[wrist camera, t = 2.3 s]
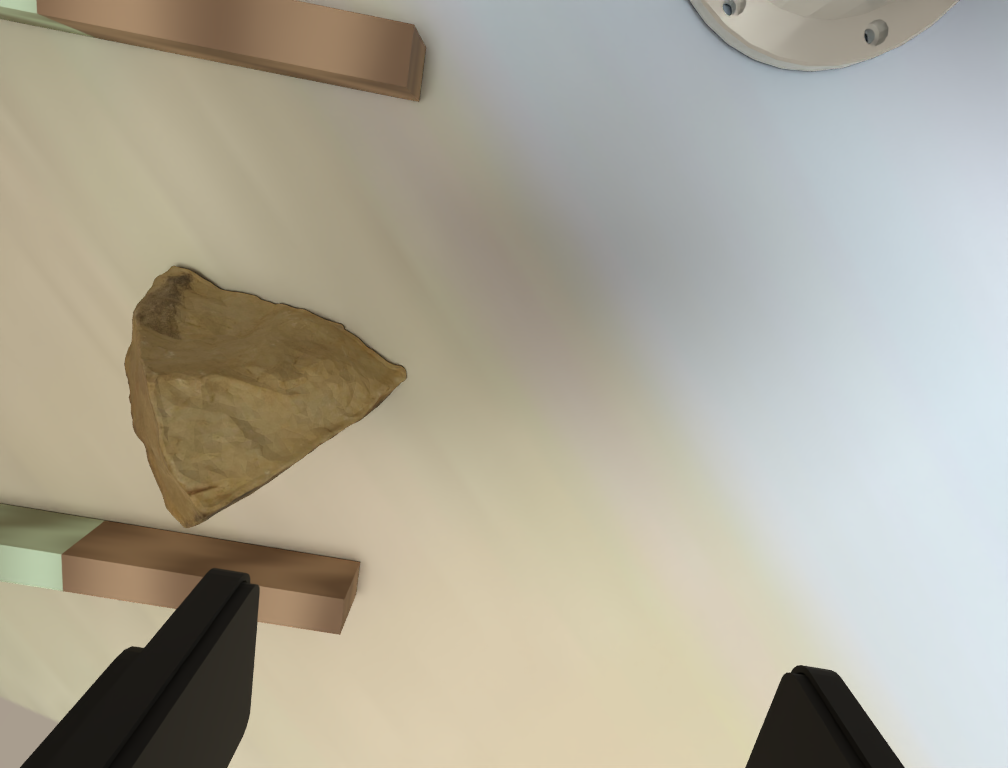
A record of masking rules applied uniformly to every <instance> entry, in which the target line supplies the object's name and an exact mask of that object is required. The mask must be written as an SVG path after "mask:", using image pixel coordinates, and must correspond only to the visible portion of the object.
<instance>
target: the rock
mask: <svg viewBox="0 0 1008 768" xmlns="http://www.w3.org/2000/svg"><path fill="white" fill-rule="evenodd" d="M132 324H133V331H132V342H131V345H130V347H129V348H128V351H127V354H126V357H125V363H124V364H125V370H126V376H127V378H128V384H129V388H130V395H129V400H130V403H131V415H132V419H133V428H134V432H135V433H136V435H137V436H138V438H139V439H140V440H141V441H142V442H143V443H144V445H145V448H146V452H147V458H148V462H149V464H150V467H151V469H152V472H153V474H154V477H155V479H156V481H157V484H158V486H159V488H160V490H161V493H162V495H163V499H164V502H165V505H166V508H167V509H168V511H169V512H170V513H171V514H172V515H173V516H174V517H175V518H176V519H177V520H178V521H179V522H180V524H181V525H182V526H183V527H185V528H190V527H193V526H196V525H198V524H200V523H202V522H204V521H206V520H208V519H209V518H210V517H212V516H213V515H215V514H216V513H218V512H220V511H222V510H223V509H225V508H227V507H229V506H231V505H232V504H234V503H236V502H238V501H239V500H241V499H243V498H245V497H247V496H249V495H251V494H252V493H254V492H255V491H256V490H258V489H259V488H261V487H262V486H263V485H265V484H267V483H269V482H270V481H271V480H273V479H274V478H275V477H277V476H278V475H279V474H281V473H282V472H284V471H285V470H287V469H288V468H290V467H291V466H292V465H293V464H295V463H296V462H298V461H299V460H301V459H302V458H304V457H305V456H306V455H307V454H309V453H310V452H312V451H313V450H314V449H316V448H317V447H318V446H319V445H321V444H322V443H324V442H326V441H327V440H329V439H331V438H333V437H334V436H335V435H337V434H338V433H339V432H341V431H342V430H344V429H345V428H347V427H348V426H350V425H351V424H354V423H356V422H358V421H360V420H361V419H363V418H364V417H365V416H366V415H368V414H369V413H370V412H371V411H373V410H374V409H375V408H376V407H378V406H379V405H380V404H381V403H382V402H383V401H384V400H385V399H386V398H387V397H388V396H389V395H390V393H391V392H392V391H393V390H394V389H395V388H396V387H397V386H398V385H399V384H400V383H401V382H403V381H404V380H405V379H406V370H405V369H404V368H403V367H402V366H399V365H394V364H391V363H389V362H387V361H386V360H385V359H383V358H382V357H381V356H380V355H378V354H377V353H376V352H374V351H373V350H372V349H370V348H368V347H367V346H365V345H364V343H363V342H362V341H361V340H360V339H359V338H358V337H356V336H354V335H353V334H351V333H349V332H348V331H346V330H345V329H344V327H343V325H342V324H339V323H335V322H331V321H329V320H325V319H323V318H321V317H318V316H317V315H315V314H312V313H311V312H309V311H307V310H304V309H296V308H293V307H290V306H288V305H284V304H276V305H275V304H273V303H270V302H268V301H264V300H261V299H259V298H258V297H257V296H254V295H250V294H246V293H240V292H231V291H225V290H221V289H219V288H218V287H216V286H215V285H213V284H212V283H211V282H209V281H207V280H205V279H203V278H201V277H200V276H199V275H197V274H196V273H195V272H193V271H190V270H189V269H185V268H180V267H176V266H172V267H171V268H170V269H169V270H168V271H167V272H165V273H164V274H162V275H159V276H158V277H157V278H156V279H155V280H154V282H153V285H152V287H151V288H150V290H149V291H148V292H147V294H146V295H145V297H144V298H143V299H142V300H141V301H140V302H139V303H138V304H137V306H136V308H135V310H134V312H133V319H132Z"/></svg>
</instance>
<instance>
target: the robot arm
mask: <svg viewBox="0 0 1008 768" xmlns="http://www.w3.org/2000/svg"><path fill="white" fill-rule="evenodd" d="M958 1H960V0H690V2H691V3H692V4H693V6H694V7H695V9H696V10H697V12H698V13H699V15H700V16H701V17H702V19H703V20H704V22H705V23H706V24H707V25H708V26H709V27H710V28H711V29H712V30H713V31H714V32H715V33H717V34H718V35H719V36H720V37H721V38H722V39H723V40H724V41H725V42H726V43H727V44H728V45H730V46H732V47H733V48H735V49H737V50H738V51H740V52H742V53H743V54H745V55H747V56H748V57H750V58H752V59H754V60H757V61H760V62H763V63H766V64H769V65H772V66H775V67H778V68H781V69H790V70H801V71H811V72H812V71H821V70H829V69H838V68H844V67H847V66H850V65H853V64H856V63H859V62H863V61H866V60H869V59H872V58H875V57H877V56H879V55H881V54H883V53H885V52H888V51H890V50H892V49H894V48H896V47H899V46H901V45H903V44H904V43H906V42H908V41H909V40H911V39H912V38H914V37H915V36H917V35H918V34H920V33H921V32H923V31H924V30H926V29H927V28H929V27H931V26H932V25H933V24H934V23H935V22H936V21H938V20H939V19H940V18H941V17H942V16H943V15H944V14H945V13H946V12H947V11H949V10H950V9H951V8H952V7H953V6H954V5H955V4H956V3H957V2H958ZM723 4H728V5H730V6H731V8H732V13H731V15H730V16H729V15H727V14H725V12H724V10H723V8H722V5H723ZM864 34H867V36H868V42H866V40H865V38H864ZM259 595H260V587H259V585H257V584H252V583H250V575H249V574H248V573H243V572H237V571H231V570H225V569H219V568H212V569H210V570H209V571H208V572H207V573H206V574H205V576H204V577H203V578H202V579H201V580H200V582H199V583H198V584H197V585H196V586H195V588H194V589H193V590H192V591H191V592H190V594H189V595H188V596H187V597H186V598H185V600H184V601H183V602H182V603H181V604H180V606H179V607H178V608H177V609H176V610H175V612H174V613H173V614H172V615H171V616H170V618H169V619H168V620H167V621H166V622H165V624H164V625H163V626H162V627H161V628H160V630H159V631H158V632H157V633H156V634H155V636H154V637H153V638H152V639H151V641H150V642H149V643H148V644H147V645H146V647H145V648H140V647H133V646H132V647H130V648H128V649H126V650H124V651H123V652H122V653H121V654H120V655H119V656H118V657H117V658H116V659H115V660H114V661H113V662H112V663H111V664H110V665H109V667H108V668H107V669H106V670H105V671H104V672H103V673H102V675H101V676H100V677H99V678H98V679H97V680H96V681H95V683H94V684H93V685H92V686H91V687H90V688H89V689H88V691H87V692H86V693H85V694H84V695H83V696H82V697H81V699H80V700H79V701H78V702H77V703H76V704H75V705H74V707H73V708H72V709H71V710H70V711H69V712H68V713H67V715H66V716H65V717H64V718H63V719H62V720H61V721H60V723H59V724H58V725H57V726H56V727H55V728H54V730H53V731H52V732H51V733H50V734H49V735H48V736H47V738H46V739H45V740H44V741H43V742H42V743H41V744H40V746H39V747H38V748H37V749H36V750H35V751H34V752H33V753H32V755H31V756H30V757H29V758H28V759H27V760H26V761H25V763H24V764H23V765H22V766H21V767H20V768H227V767H228V765H229V763H230V761H231V759H232V757H233V755H234V753H235V751H236V749H237V747H238V745H239V743H240V741H241V739H242V737H243V735H244V732H245V730H246V727H247V723H248V720H249V715H250V707H251V695H252V682H253V670H254V657H255V645H256V633H257V620H258V608H259ZM745 768H905V767H904V766H903V765H902V763H901V762H900V760H899V759H898V758H897V756H896V755H895V753H894V752H893V751H892V749H891V748H890V746H889V745H888V743H887V742H886V741H885V739H884V738H883V736H882V735H881V734H880V732H879V731H878V729H877V728H876V726H875V725H874V724H873V722H872V721H871V719H870V718H869V717H868V715H867V714H866V712H865V711H864V710H863V708H862V707H861V705H860V704H859V702H858V701H857V700H856V698H855V697H854V695H853V694H852V693H851V691H850V690H849V688H848V687H847V685H846V684H845V683H844V681H843V680H842V678H841V677H840V676H839V675H838V674H837V673H836V672H834V671H832V670H826V669H820V668H814V667H808V666H802V665H800V666H796V667H795V668H793V670H792V671H791V673H786V674H784V675H783V677H782V679H781V681H780V684H779V686H778V689H777V691H776V694H775V696H774V698H773V701H772V703H771V706H770V708H769V711H768V713H767V716H766V718H765V721H764V723H763V726H762V728H761V730H760V733H759V735H758V738H757V740H756V743H755V745H754V748H753V750H752V753H751V755H750V758H749V760H748V762H747V765H746V767H745Z"/></svg>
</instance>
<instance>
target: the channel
mask: <svg viewBox="0 0 1008 768" xmlns="http://www.w3.org/2000/svg"><path fill="white" fill-rule="evenodd" d="M0 19H4V20H9V21H14V22H19V23H24V24H29V25H34V26H39V27H44V28H49V29H54V30H59V31H64V32H69V33H74V34H79V35H85V36H90V37H95V38H100V39H105V40H110V41H115V42H120V43H125V44H130V45H135V46H140V47H145V48H150V49H155V50H160V51H165V52H170V53H175V54H180V55H186V56H191V57H196V58H201V59H206V60H211V61H216V62H221V63H226V64H231V65H236V66H241V67H246V68H251V69H256V70H261V71H266V72H271V73H276V74H281V75H287V76H292V77H297V78H302V79H307V80H312V81H317V82H322V83H327V84H332V85H337V86H342V87H347V88H352V89H357V90H362V91H367V92H372V93H377V94H382V95H388V96H393V97H398V98H403V99H408V100H413V101H418V102H419V98H420V90H421V82H422V75H423V67H424V59H425V51H426V47H425V45H424V43H423V41H422V39H421V37H420V35H419V33H418V31H417V29H416V27H415V25H413V24H408V23H403V22H398V21H394V20H389V19H384V18H379V17H374V16H369V15H364V14H359V13H354V12H349V11H344V10H340V9H335V8H330V7H325V6H320V5H315V4H310V3H305V2H300V1H295V0H0ZM359 567H360V562H356V561H350V560H344V559H338V558H332V557H326V556H320V555H313V554H307V553H301V552H295V551H289V550H283V549H277V548H270V547H264V546H258V545H252V544H246V543H240V542H234V541H227V540H221V539H215V538H209V537H203V536H197V535H191V534H184V533H178V532H172V531H166V530H160V529H154V528H148V527H141V526H135V525H129V524H123V523H117V522H111V521H105V520H98V519H92V518H86V517H80V516H74V515H68V514H62V513H55V512H49V511H43V510H37V509H31V508H25V507H19V506H12V505H6V504H0V581H2V582H9V583H15V584H21V585H28V586H34V587H40V588H47V589H53V590H59V591H66V592H72V593H79V594H85V595H91V596H98V597H104V598H110V599H117V600H123V601H129V602H136V603H142V604H149V605H155V606H161V607H168V608H174V609H177V608H178V607H179V606H180V604H181V603H182V602H183V601H184V600H185V598H186V597H187V596H188V595H189V594H190V592H191V591H192V590H193V589H194V588H195V586H196V585H197V584H198V583H199V582H200V580H201V579H202V578H203V577H204V576H205V574H206V573H207V572H208V571H209V570H210V569H212V568H219V569H225V570H231V571H237V572H243V573H248V574H249V575H250V583H252V584H257V585H259V587H260V595H259V608H258V620H257V622H263V623H269V624H276V625H282V626H288V627H295V628H301V629H308V630H314V631H320V632H327V633H333V634H339V635H340V633H341V631H342V628H343V626H344V623H345V621H346V618H347V616H348V613H349V611H350V608H351V606H352V603H353V601H354V598H355V596H356V591H357V583H358V575H359Z"/></svg>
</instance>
